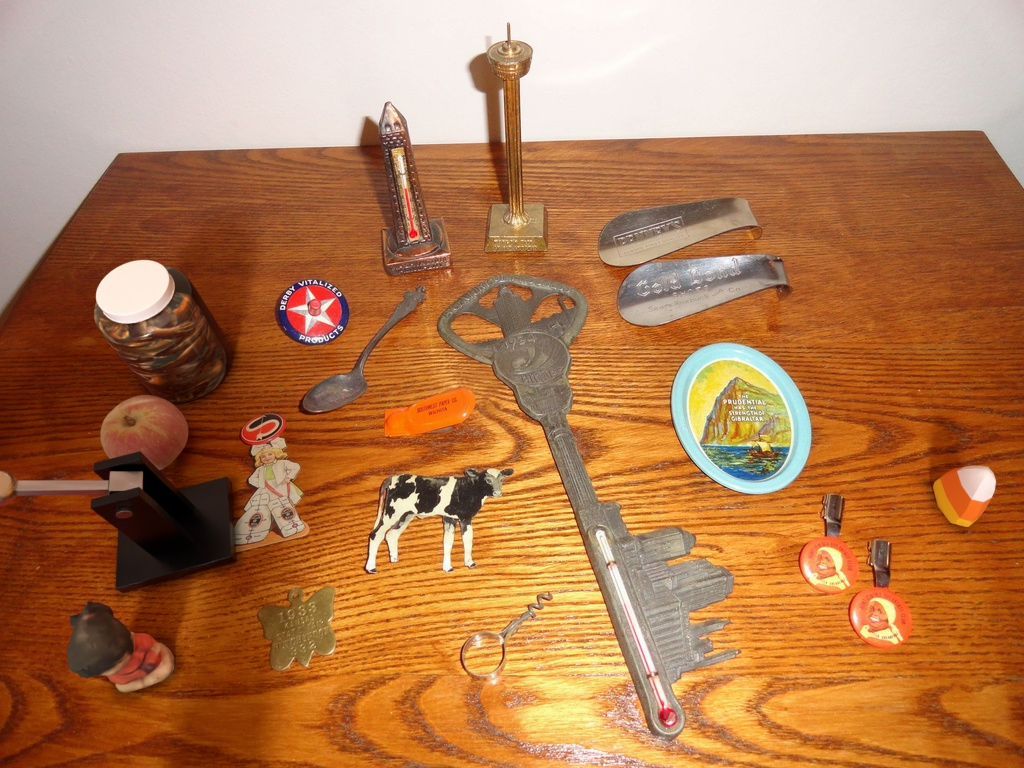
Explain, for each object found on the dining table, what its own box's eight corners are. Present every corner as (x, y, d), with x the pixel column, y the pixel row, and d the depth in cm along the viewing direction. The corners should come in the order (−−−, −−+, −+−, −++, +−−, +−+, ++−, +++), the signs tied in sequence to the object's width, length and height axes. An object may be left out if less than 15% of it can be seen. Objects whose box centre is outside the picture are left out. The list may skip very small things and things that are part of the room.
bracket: (122, 593, 73) (44, 544, 62) (125, 510, 79) (54, 450, 68) (236, 561, 75) (180, 508, 64) (231, 481, 80) (180, 419, 69)
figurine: (101, 673, 69) (27, 641, 59) (146, 625, 71) (82, 587, 62) (141, 712, 67) (71, 686, 57) (187, 661, 69) (127, 628, 59)
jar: (253, 349, 91) (207, 269, 79) (190, 416, 86) (130, 341, 74) (187, 318, 95) (134, 237, 83) (123, 380, 89) (55, 303, 77)
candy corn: (924, 482, 77) (959, 446, 70) (950, 479, 77) (988, 443, 70) (948, 532, 73) (988, 500, 67) (976, 529, 73) (1018, 497, 67)
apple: (213, 437, 84) (185, 400, 77) (162, 497, 80) (127, 464, 73) (160, 410, 87) (128, 373, 80) (107, 467, 82) (69, 433, 76)
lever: (-27, 513, 61) (-29, 495, 59) (-22, 482, 63) (-24, 463, 61) (139, 509, 68) (142, 493, 66) (140, 481, 70) (143, 464, 68)
